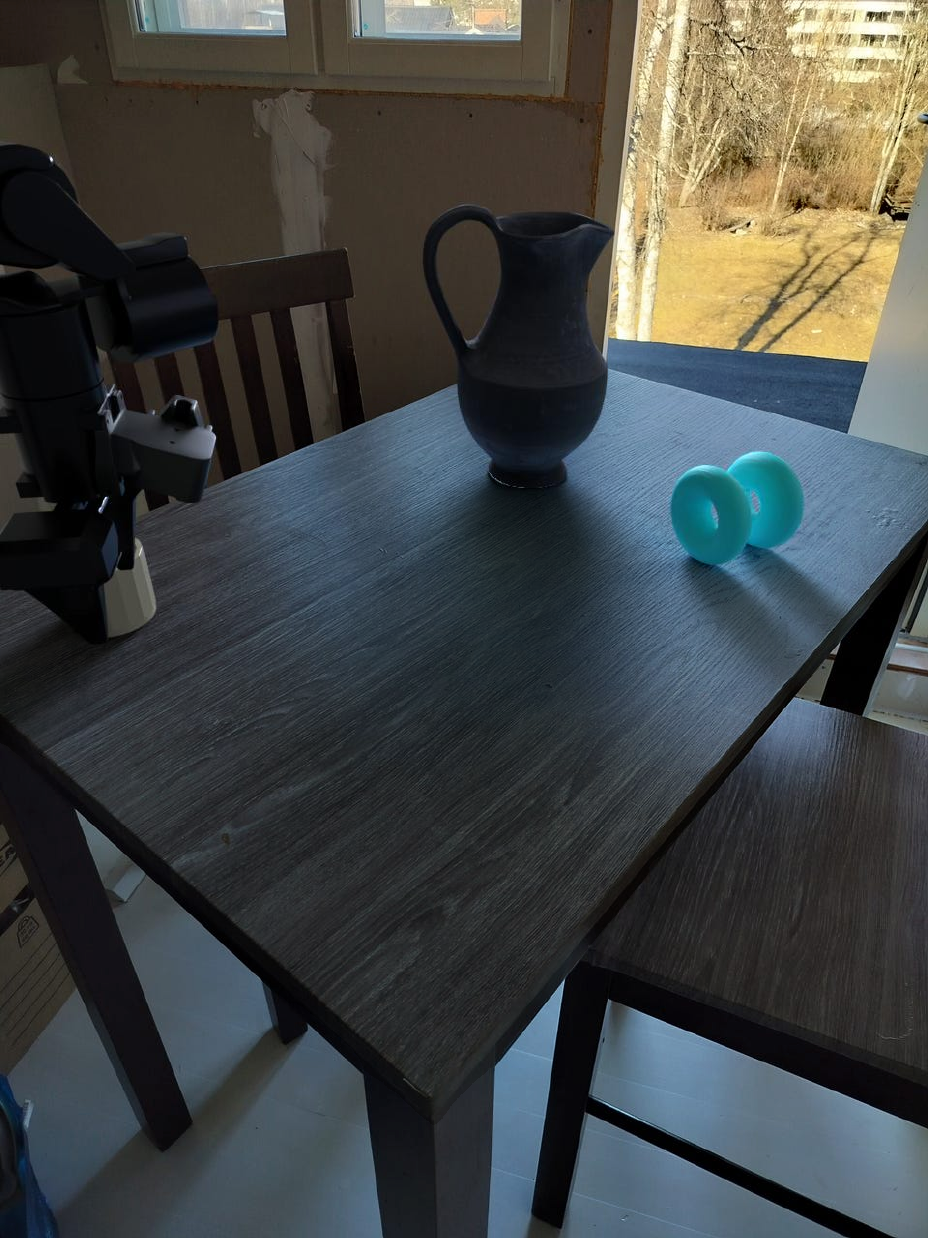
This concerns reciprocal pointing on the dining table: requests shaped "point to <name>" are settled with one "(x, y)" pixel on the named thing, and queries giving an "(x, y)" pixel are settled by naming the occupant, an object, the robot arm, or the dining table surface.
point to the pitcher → (529, 343)
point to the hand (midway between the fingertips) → (114, 603)
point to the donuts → (736, 507)
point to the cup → (130, 597)
